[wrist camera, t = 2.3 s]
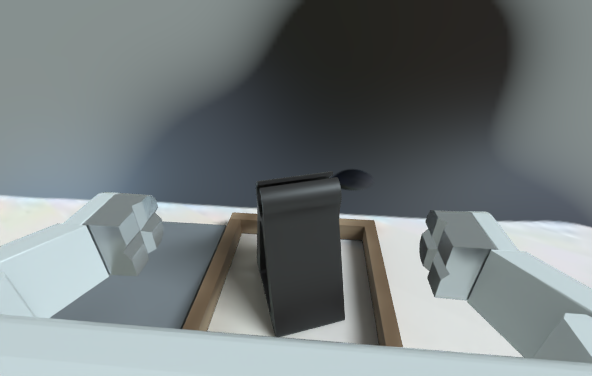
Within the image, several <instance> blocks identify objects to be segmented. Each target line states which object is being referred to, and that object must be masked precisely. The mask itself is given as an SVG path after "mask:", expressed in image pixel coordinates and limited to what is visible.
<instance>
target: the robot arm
mask: <svg viewBox="0 0 592 376" xmlns="http://www.w3.org/2000/svg"><path fill="white" fill-rule="evenodd" d="M157 208H158V205H157V202H156V199H155V198H154V197H153V196H151V195H140V194H127V193H111V192H103V193H99V194H98V195H96V196H95V197H94V198H93V199H92V200H90V201H89V202H88V203H87V204H86V205H84V206H83V207H82V208H81V209H80V210H79V211H77V212H76V213H75V214H74V215H73V216H71V217H70V218H69V219H68V220H67V221H65V222H64V223H63V224H55V225H53V226H50V227H48V228H45V229H42V230H40V231H37V232H35V233H32V234H30V235H27V236H25V237H22V238H20V239H17V240H15V241H12V242H9V243H7V244H4V245H2V246H0V376H592V289H591V288H589V287H587V286H586V285H584V284H582V283H580V282H579V281H577V280H575V279H573V278H571V277H570V276H568V275H566V274H564V273H563V272H561V271H559V270H557V269H556V268H554V267H552V266H550V265H548V264H547V263H545V262H543V261H541V260H540V259H538V258H536V257H534V256H533V255H531V254H529V253H527V252H522V251H519V250H518V249H517V247H516V246H515V245H514V243H513V242H512V241H511V240H510V238H509V237H508V236H507V234H506V233H505V232H504V231H503V229H502V228H501V227H500V225H499V224H498V223H497V221H496V220H495V219H494V218H493V216H492V215H491V214H490V213H488V212H472V211H467V212H460V211H459V212H458V211H434V210H431V211H430V212H429V214H428V215H427V219H426V224H427V226H428V230H426V231H425V232H424V233H423V234H422V236H421V240H420V258H421V262H422V264H423V266H424V267H425V268H426V269H427V270H429V275H428V281H429V284H430V286H431V289H432V292H433V294H434V297H436V298H446V299H456V300H467V302H468V303H469V304H470V305H471V306H472V307H473V308H474V309H475V310H476V311H477V312H478V313H479V314H480V315H481V316H482V317H483V318H484V319H485V320H486V321H487V322H488V323H489V324H490V325H491V326H492V327H493V328H494V329H495V330H496V331H497V332H498V333H500V334H501V335H502V336H503V337H504V338H505V339H506V340H507V341H508V342H509V343H510V344H511V345H512V346H513V347H514V348H515V349H516V350H517V351H518V352H519V353H520V354H521V355H522V356H523V357H524V358H523V357H511V356H499V355H487V354H475V353H463V352H451V351H439V350H427V349H415V348H403V347H391V346H379V345H367V344H354V343H342V342H330V341H318V340H306V339H294V338H282V337H270V336H258V335H246V334H234V333H222V332H210V331H198V330H186V329H173V328H161V327H149V326H137V325H125V324H113V323H101V322H89V321H77V320H65V319H52V318H50V317H52V316H53V315H55V314H56V313H57V312H59V311H60V310H62V309H63V308H65V307H66V306H67V305H69V304H70V303H72V302H73V301H75V300H76V299H77V298H79V297H80V296H82V295H83V294H85V293H86V292H88V291H89V290H90V289H92V288H93V287H95V286H96V285H98V284H99V283H100V282H102V281H103V280H105V279H106V278H108V277H109V275H122V276H138V275H139V274H140V272H141V271H142V269H143V268H144V266H145V265H146V263H147V262H148V261H149V256H148V253H150V252H152V251H153V250H155V249H157V247H158V246H159V244H160V243H161V240H162V236H163V223H162V219H161V218H160V217H159V216H158V215H157V214H156V213H155V212H156V210H157Z"/></svg>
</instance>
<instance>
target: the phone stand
mask: <svg viewBox="0 0 592 376" xmlns="http://www.w3.org/2000/svg"><path fill="white" fill-rule="evenodd" d="M331 175H333V172H332V171H331V172H324V173H316V174H308V175H301V176H293V177H286V178H279V179H272V180H263V181H257V182H256V195H257V263H258V267H259V271H260V275H261V279H262V283H263V287H264V291H265V294H266V299H267V303H268V307H269V312H270V316H271V320H272V324H273V328H274V332H275V336H276V337H282V336H285V335H289V334H293V333H297V332H301V331H305V330H308V329H312V328H316V327H320V326H324V325H328V324H331V323H335V322H339V321H343V320H345V313H344V295H343V278H342V260H341V242H340V225H339V211H340V204H341V187H340V183H339V180H338V177H336V178H329V177H330V176H331Z"/></svg>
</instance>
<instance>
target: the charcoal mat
mask: <svg viewBox="0 0 592 376" xmlns="http://www.w3.org/2000/svg"><path fill="white" fill-rule="evenodd" d="M162 223H163V236H162V240H161V243H160V244H159V246H158V247H157V249H155V250H153V251H152V252H150V253H148V256H149V261H148V262H147V263H146V265H145V266H144V268H143V269H142V271H141V272H140V274H139V275H138V276H122V275H109V277H108V278H106V279H105V280H103V281H102V282H100V283H99V284H98V285H96V286H95V287H93V288H92V289H90V290H89V291H88V292H86V293H85V294H83V295H82V296H80V297H79V298H77V299H76V300H75V301H73V302H72V303H70V304H69V305H67V306H66V307H65V308H63V309H62V310H60V311H59V312H57V313H56V314H55V315H53V316H52V317H50V318H52V319H65V320H77V321H89V322H101V323H113V324H125V325H137V326H149V327H161V328H173V329H183V326H184V324H185V322H186V319H187V317H188V315H189V313H190V310H191V308H192V306H193V303H194V301H195V299H196V296H197V294H198V292H199V289H200V287H201V285H202V282H203V280H204V278H205V275H206V273H207V271H208V269H209V266H210V264H211V262H212V259H213V257H214V255H215V252H216V250H217V248H218V245H219V243H220V241H221V238H222V236H223V234H224V232H225V229H226V225H212V224H195V223H178V222H162Z"/></svg>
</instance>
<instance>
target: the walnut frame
mask: <svg viewBox="0 0 592 376" xmlns="http://www.w3.org/2000/svg"><path fill="white" fill-rule="evenodd" d="M339 225H340V239H351V240H363V247H364V253H365V259H366V266H367V272H368V278H369V284H370V291H371V297H372V303H373V309H374V316H375V322H376V328H377V335H378V341H379V346H391V347H403V345H402V341H401V337H400V332H399V328H398V323H397V319H396V315H395V310H394V306H393V301H392V297H391V293H390V288H389V284H388V279H387V275H386V271H385V266H384V262H383V257H382V253H381V248H380V244H379V240H378V235H377V231H376V226H375V222H374V220H357V219H339ZM242 233H250V234H257V214H249V213H232V215H231V218H230V220H229V222H228V225H227V227H226V229H225V232H224V234H223V236H222V238H221V241H220V243H219V245H218V248H217V250H216V252H215V255H214V257H213V259H212V262H211V264H210V266H209V269H208V271H207V273H206V275H205V278H204V280H203V282H202V285H201V287H200V289H199V292H198V294H197V296H196V299H195V301H194V303H193V306H192V308H191V310H190V313H189V315H188V317H187V319H186V322H185V324H184V326H183V329H186V330H198V331H207V330H208V327H209V324H210V321H211V318H212V316H213V313H214V310H215V307H216V304H217V302H218V299H219V296H220V293H221V290H222V287H223V285H224V282H225V279H226V276H227V273H228V271H229V268H230V265H231V262H232V259H233V256H234V254H235V251H236V248H237V245H238V242H239V240H240V237H241V234H242Z"/></svg>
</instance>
